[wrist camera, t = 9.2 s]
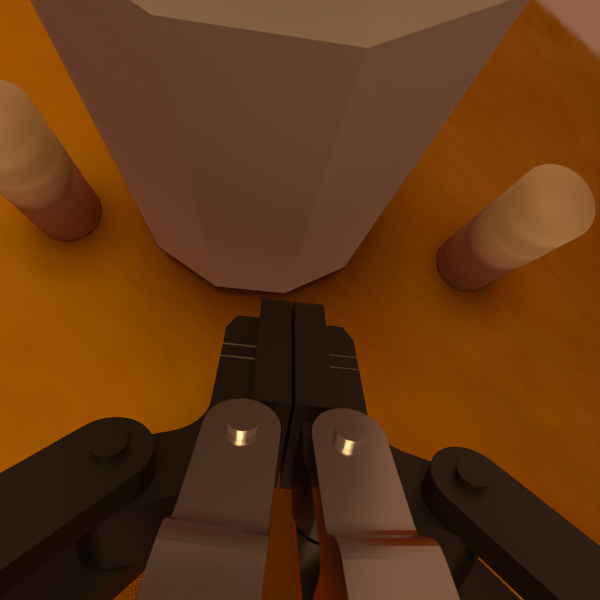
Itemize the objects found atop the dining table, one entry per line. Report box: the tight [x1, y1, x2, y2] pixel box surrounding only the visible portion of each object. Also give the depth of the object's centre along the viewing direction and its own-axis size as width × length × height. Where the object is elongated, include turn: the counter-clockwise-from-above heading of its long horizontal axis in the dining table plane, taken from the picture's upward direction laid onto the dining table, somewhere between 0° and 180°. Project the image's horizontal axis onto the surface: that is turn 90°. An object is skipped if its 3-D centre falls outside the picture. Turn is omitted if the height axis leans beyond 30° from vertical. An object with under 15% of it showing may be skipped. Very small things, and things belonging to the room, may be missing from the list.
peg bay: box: [0, 80, 595, 291], centre depth 17 cm, size 12×18×6 cm, turn 85°
